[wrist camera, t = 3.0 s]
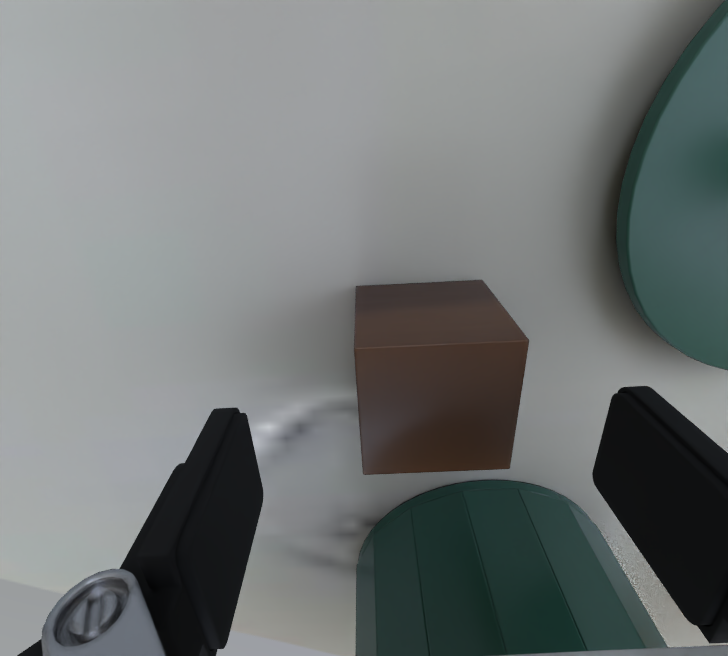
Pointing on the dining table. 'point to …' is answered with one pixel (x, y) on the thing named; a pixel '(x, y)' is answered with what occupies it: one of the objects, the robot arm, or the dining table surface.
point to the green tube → (493, 578)
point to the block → (436, 377)
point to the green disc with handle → (682, 203)
